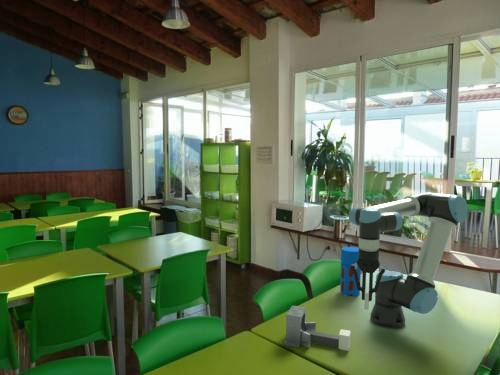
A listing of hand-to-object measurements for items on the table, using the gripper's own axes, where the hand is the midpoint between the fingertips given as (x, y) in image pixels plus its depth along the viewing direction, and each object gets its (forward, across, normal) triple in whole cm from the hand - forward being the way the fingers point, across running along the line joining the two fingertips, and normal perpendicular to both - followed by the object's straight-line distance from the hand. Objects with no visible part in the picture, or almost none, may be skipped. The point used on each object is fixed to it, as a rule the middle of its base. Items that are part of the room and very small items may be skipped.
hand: (366, 308), depth 145 cm
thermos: (+17, +12, -61) cm, 65 cm away
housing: (+17, +26, 0) cm, 31 cm away
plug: (+17, +15, 0) cm, 23 cm away
